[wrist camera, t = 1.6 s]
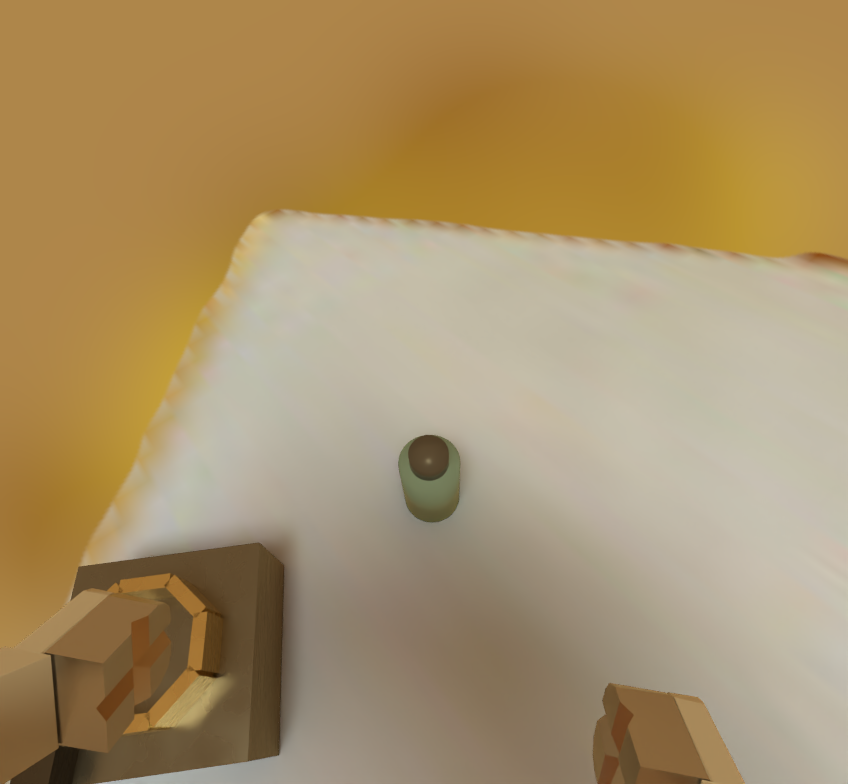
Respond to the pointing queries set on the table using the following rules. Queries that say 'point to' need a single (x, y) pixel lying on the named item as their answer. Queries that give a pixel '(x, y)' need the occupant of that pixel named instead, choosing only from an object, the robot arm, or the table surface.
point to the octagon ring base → (193, 667)
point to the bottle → (430, 477)
